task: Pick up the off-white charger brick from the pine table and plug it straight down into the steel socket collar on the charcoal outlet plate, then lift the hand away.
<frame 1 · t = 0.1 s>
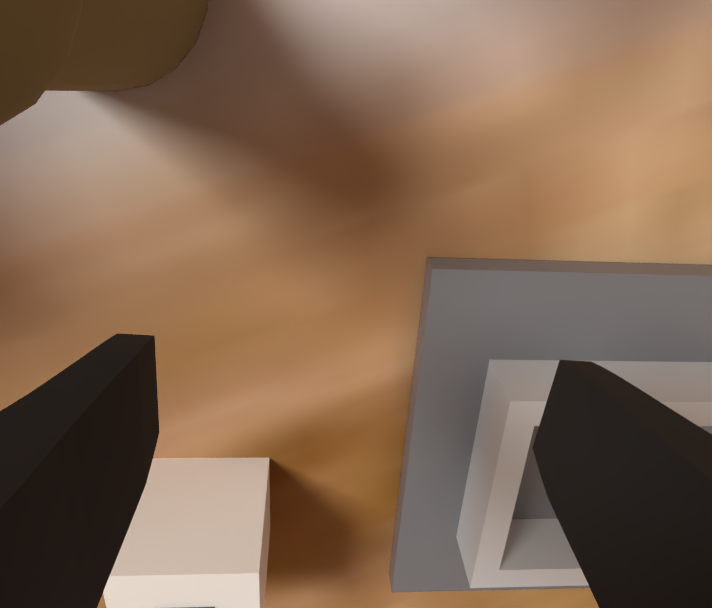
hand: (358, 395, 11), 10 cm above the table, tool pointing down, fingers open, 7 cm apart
outlet plate: (571, 439, 25), on the table
charger brick: (209, 494, 25), on the table
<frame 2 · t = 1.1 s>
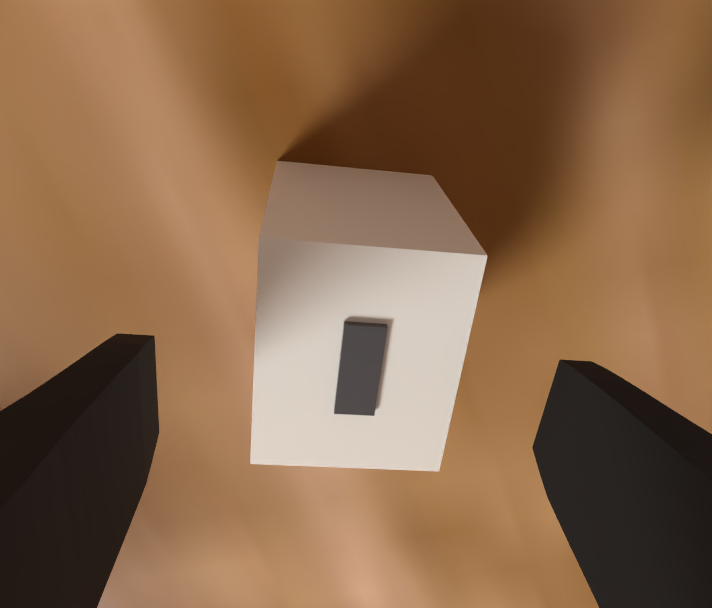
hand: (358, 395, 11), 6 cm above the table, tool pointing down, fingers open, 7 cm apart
charger brick: (345, 257, 16), on the table
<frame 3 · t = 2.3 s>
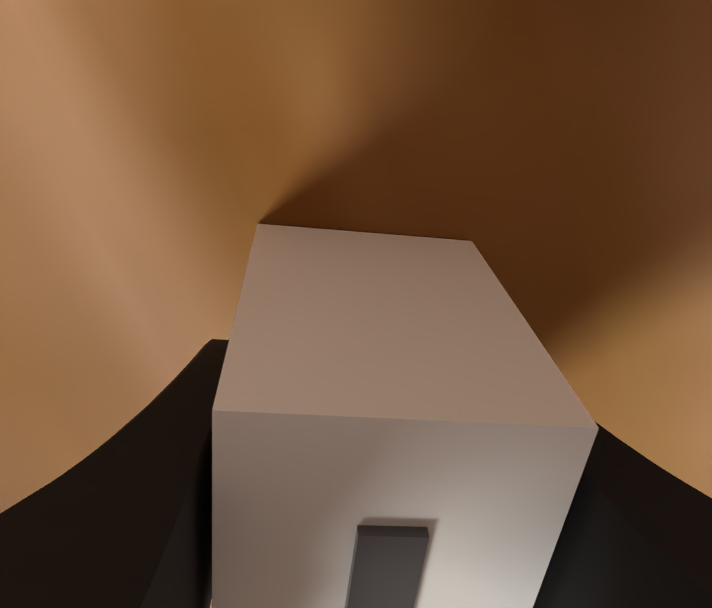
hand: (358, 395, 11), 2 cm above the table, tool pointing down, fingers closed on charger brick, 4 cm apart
charger brick: (352, 348, 12), on the table, touching gripper
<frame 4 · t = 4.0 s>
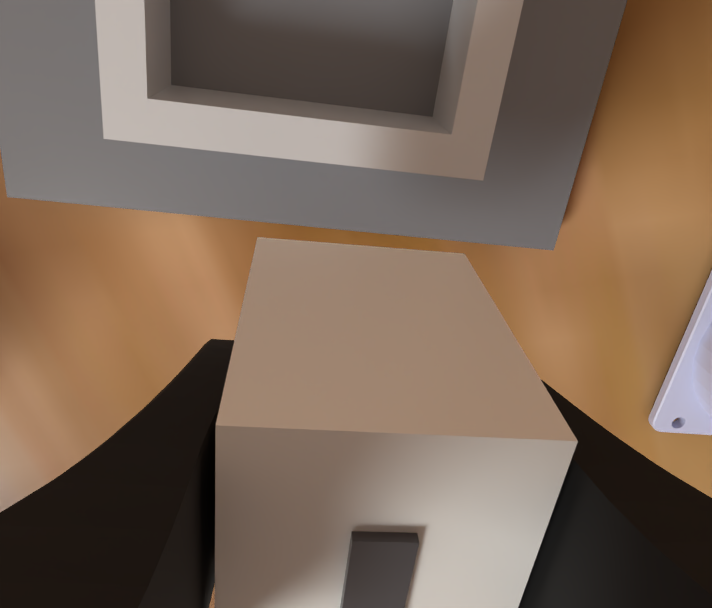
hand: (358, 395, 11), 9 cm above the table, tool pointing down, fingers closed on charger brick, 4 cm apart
charger brick: (349, 356, 12), point 7 cm above the table, touching gripper
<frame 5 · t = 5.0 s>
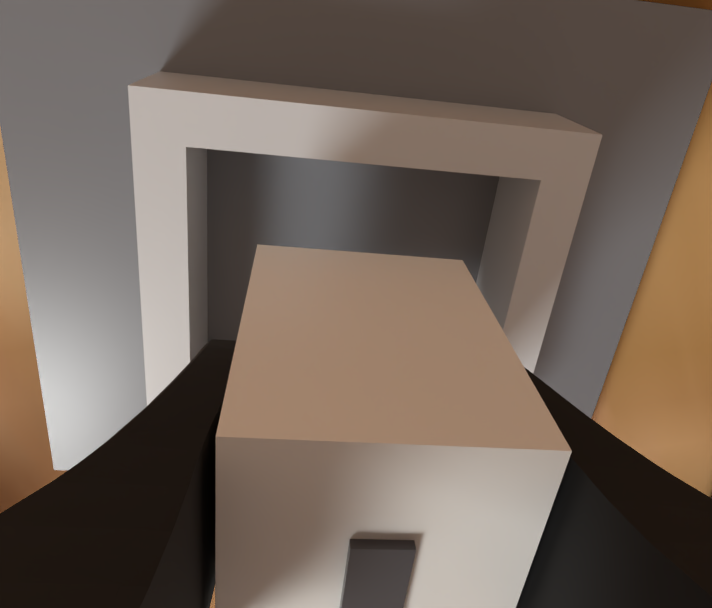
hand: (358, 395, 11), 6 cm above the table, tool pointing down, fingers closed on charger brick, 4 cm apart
outlet plate: (343, 260, 16), on the table
charger brick: (348, 361, 13), point 4 cm above the table, touching gripper
when the fingers open (4 cm above the table, at t = 5.8 s): charger brick drops 1 cm, resting on outlet plate.
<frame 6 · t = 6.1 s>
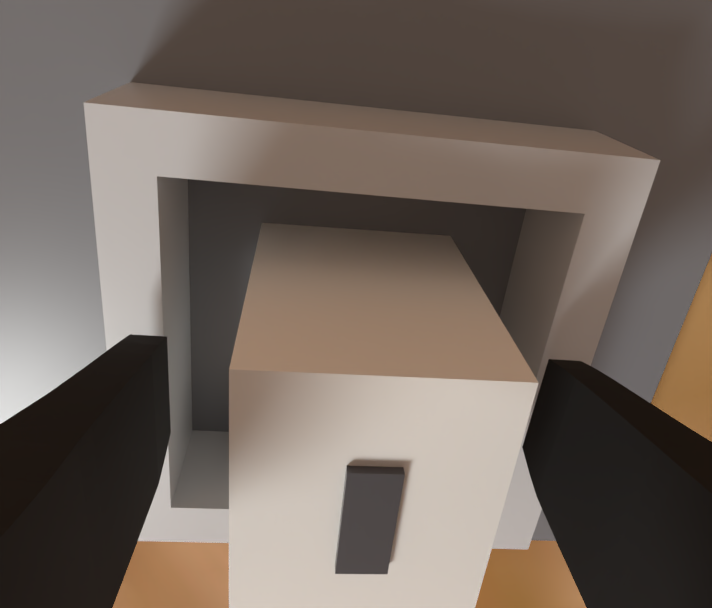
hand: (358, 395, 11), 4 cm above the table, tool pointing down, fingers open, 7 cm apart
outlet plate: (346, 294, 14), on the table
charger brick: (346, 332, 14), point 1 cm above the table, touching outlet plate
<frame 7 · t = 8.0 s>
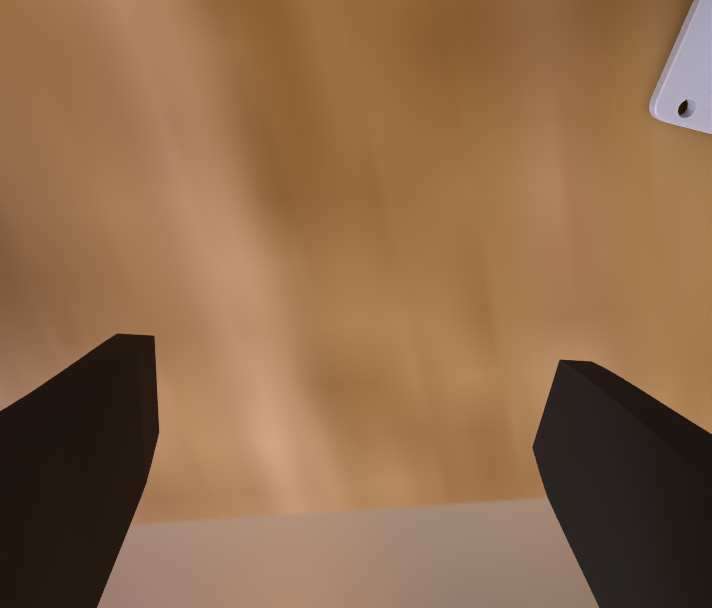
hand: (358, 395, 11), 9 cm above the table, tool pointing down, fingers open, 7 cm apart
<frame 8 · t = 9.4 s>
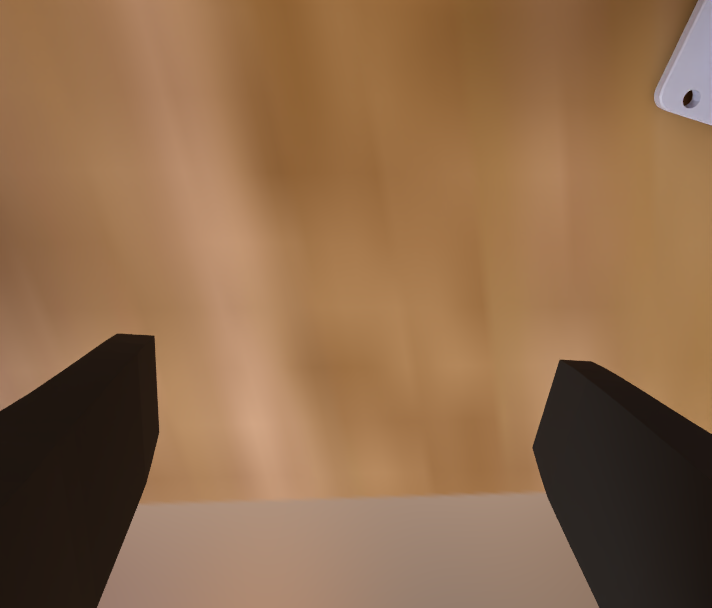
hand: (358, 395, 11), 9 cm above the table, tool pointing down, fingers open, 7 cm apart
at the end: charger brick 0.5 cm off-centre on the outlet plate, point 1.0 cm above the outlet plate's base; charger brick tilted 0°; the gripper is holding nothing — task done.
